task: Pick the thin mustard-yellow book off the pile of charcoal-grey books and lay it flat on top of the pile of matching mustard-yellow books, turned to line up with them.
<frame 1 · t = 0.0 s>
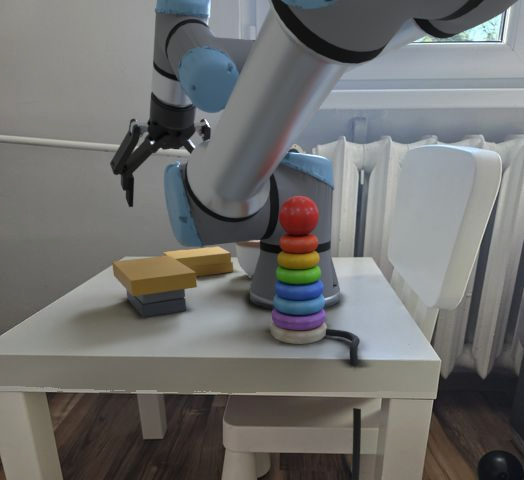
hand: (163, 200, 98), 14 cm above the table, tool tilted 35°, fingers open, 13 cm apart
mustard pile: (198, 271, 103), on the table
grey pile: (155, 304, 83), on the table
white bowl: (263, 276, 99), on the table
mustard book: (153, 281, 81), point 4 cm above the table, touching grey pile
stacking toy: (298, 336, 70), on the table, touching arm
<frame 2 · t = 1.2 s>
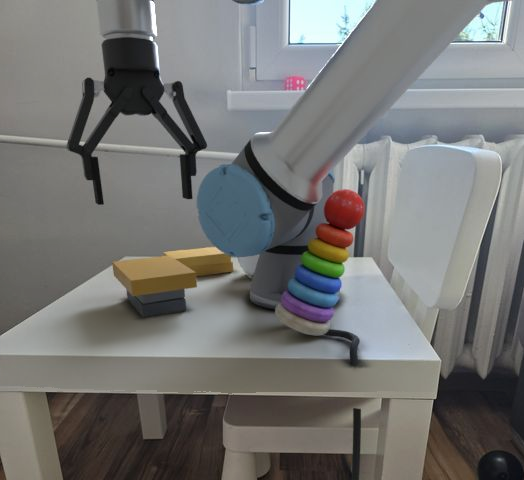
hand: (145, 201, 76), 17 cm above the table, tool pointing down, fingers open, 13 cm apart
stacking toy: (299, 325, 69), point 1 cm above the table, touching arm
everything else where it was.
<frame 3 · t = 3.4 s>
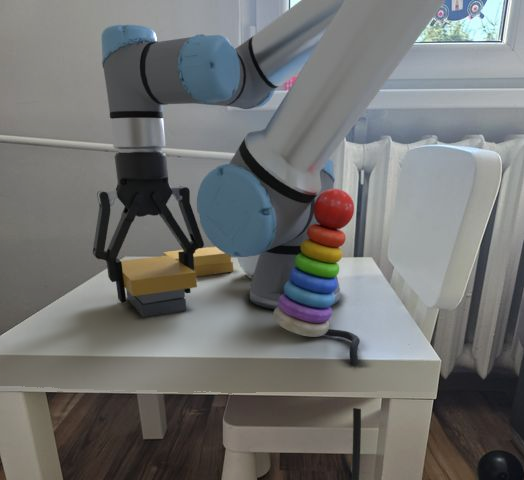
hand: (154, 295, 82), 2 cm above the table, tool pointing down, fingers closed on mustard book, 10 cm apart
mustard book: (153, 281, 81), point 4 cm above the table, touching grey pile, gripper
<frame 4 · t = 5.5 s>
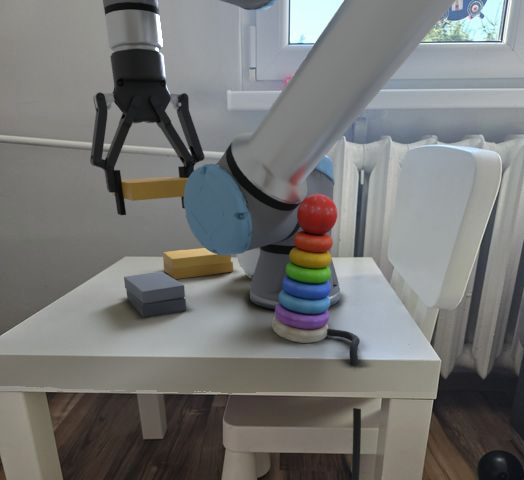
hand: (155, 211, 80), 15 cm above the table, tool pointing down, fingers closed on mustard book, 10 cm apart
mustard book: (153, 195, 79), point 17 cm above the table, touching gripper
stacking toy: (298, 334, 70), on the table, touching arm
everything else where it was.
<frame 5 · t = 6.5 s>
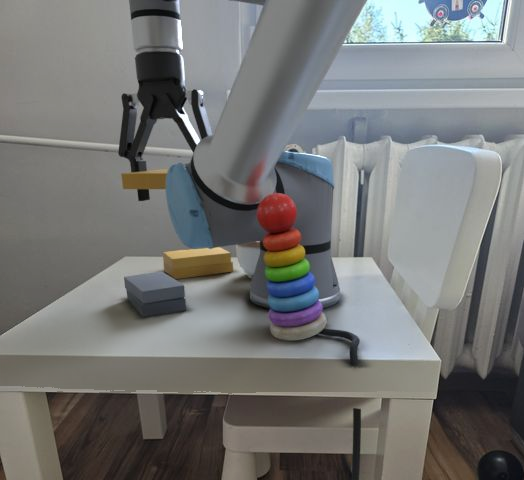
hand: (171, 200, 87), 15 cm above the table, tool pointing down, fingers closed on mustard book, 10 cm apart
mustard book: (170, 185, 86), point 18 cm above the table, touching gripper
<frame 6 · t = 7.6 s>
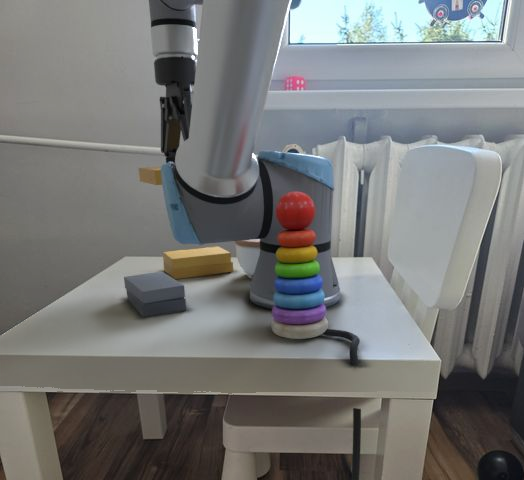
hand: (185, 195, 93), 16 cm above the table, tool pointing down, fingers closed on mustard book, 10 cm apart
mustard book: (184, 181, 92), point 18 cm above the table, touching gripper
stacking toy: (299, 333, 70), on the table
everything else where it was.
when the fingers open (1 cm above the table, at t = 11.7 s): mustard book stays where it is, resting on mustard pile.
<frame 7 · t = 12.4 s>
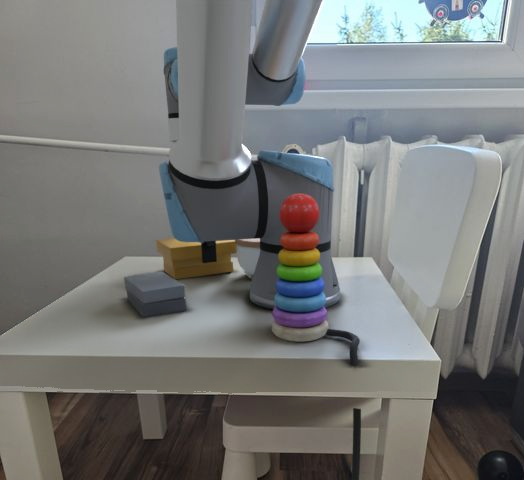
hand: (197, 256, 102), 3 cm above the table, tool pointing down, fingers open, 13 cm apart
mustard book: (197, 252, 102), point 4 cm above the table, touching mustard pile
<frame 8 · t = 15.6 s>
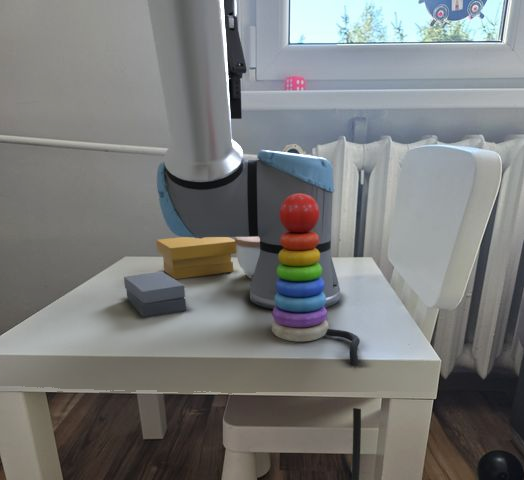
hand: (220, 120, 99), 29 cm above the table, tool pointing down, fingers open, 13 cm apart
nothing on the table moved.
at the end: mustard book 0.1 cm off-centre on the mustard pile, point 4.0 cm above the mustard pile's base; mustard book tilted 0°; the gripper is holding nothing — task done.
